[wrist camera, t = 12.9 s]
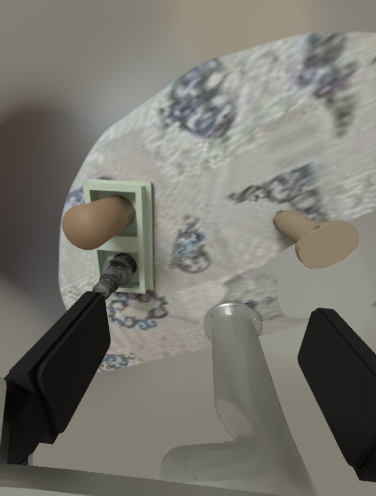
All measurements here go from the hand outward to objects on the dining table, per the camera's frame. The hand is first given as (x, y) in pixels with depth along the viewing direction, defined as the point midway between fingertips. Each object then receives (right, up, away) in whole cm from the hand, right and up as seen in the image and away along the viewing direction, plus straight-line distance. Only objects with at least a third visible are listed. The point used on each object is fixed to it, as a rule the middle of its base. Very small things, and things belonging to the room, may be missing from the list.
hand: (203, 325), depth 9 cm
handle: (+16, +9, +28) cm, 34 cm away
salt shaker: (-14, 0, +33) cm, 36 cm away
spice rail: (-14, +6, +32) cm, 35 cm away
